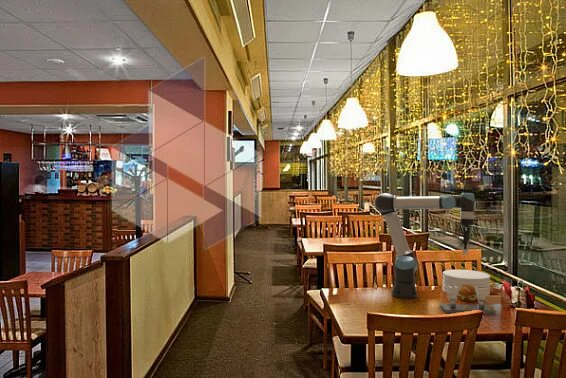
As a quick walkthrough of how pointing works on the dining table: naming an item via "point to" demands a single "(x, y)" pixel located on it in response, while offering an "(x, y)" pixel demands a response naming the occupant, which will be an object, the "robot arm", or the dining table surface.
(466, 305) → the lock plate
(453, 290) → the coupling
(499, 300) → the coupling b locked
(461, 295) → the cheeseburger
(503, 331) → the dining table surface
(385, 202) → the robot arm
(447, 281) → the plate stack
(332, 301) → the dining table surface
